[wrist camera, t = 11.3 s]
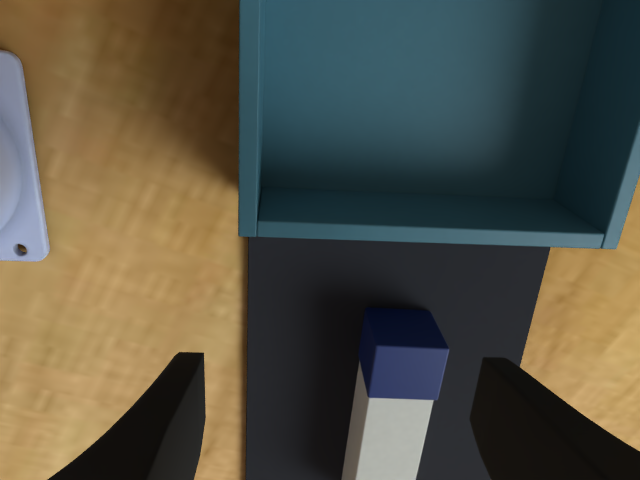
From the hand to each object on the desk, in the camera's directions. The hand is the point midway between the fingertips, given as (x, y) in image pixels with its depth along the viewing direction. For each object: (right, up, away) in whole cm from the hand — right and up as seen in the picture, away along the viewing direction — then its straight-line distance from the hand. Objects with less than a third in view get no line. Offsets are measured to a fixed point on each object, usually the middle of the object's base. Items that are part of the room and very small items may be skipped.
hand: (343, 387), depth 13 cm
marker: (+2, -4, +12) cm, 13 cm away
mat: (+2, -4, +12) cm, 13 cm away
